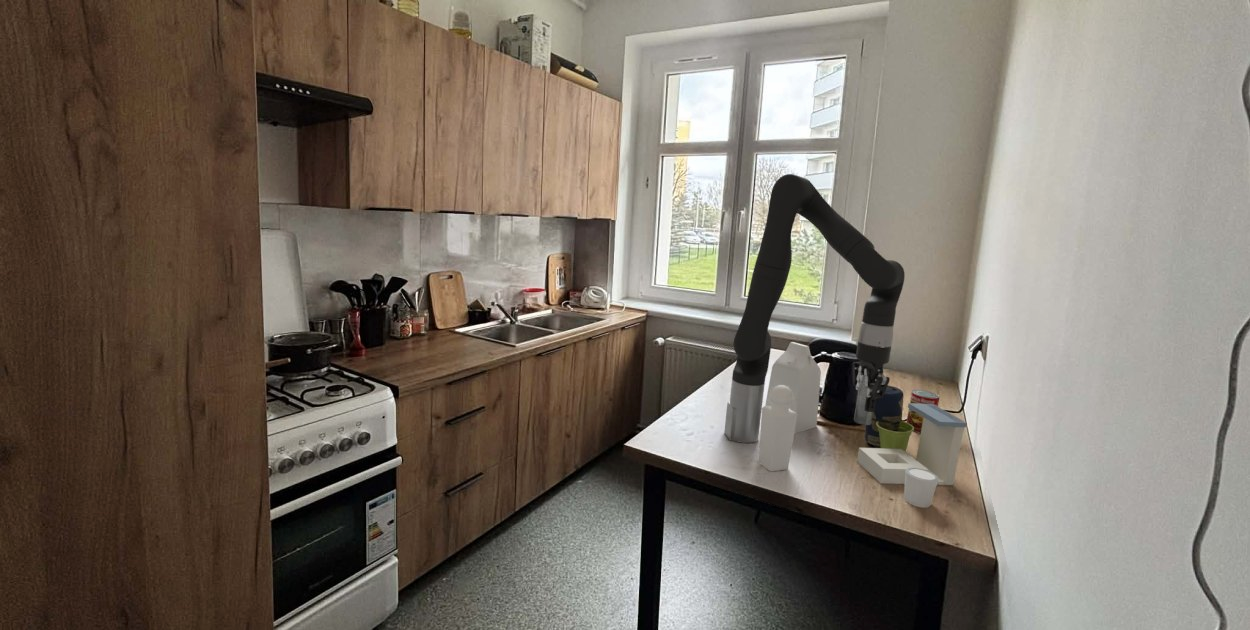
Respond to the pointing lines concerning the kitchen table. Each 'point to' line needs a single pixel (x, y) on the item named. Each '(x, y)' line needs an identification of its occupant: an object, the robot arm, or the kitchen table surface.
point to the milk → (798, 383)
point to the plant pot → (895, 436)
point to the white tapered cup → (919, 487)
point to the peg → (862, 404)
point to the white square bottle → (777, 430)
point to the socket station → (920, 449)
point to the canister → (885, 414)
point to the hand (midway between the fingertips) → (864, 407)
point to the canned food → (920, 398)
